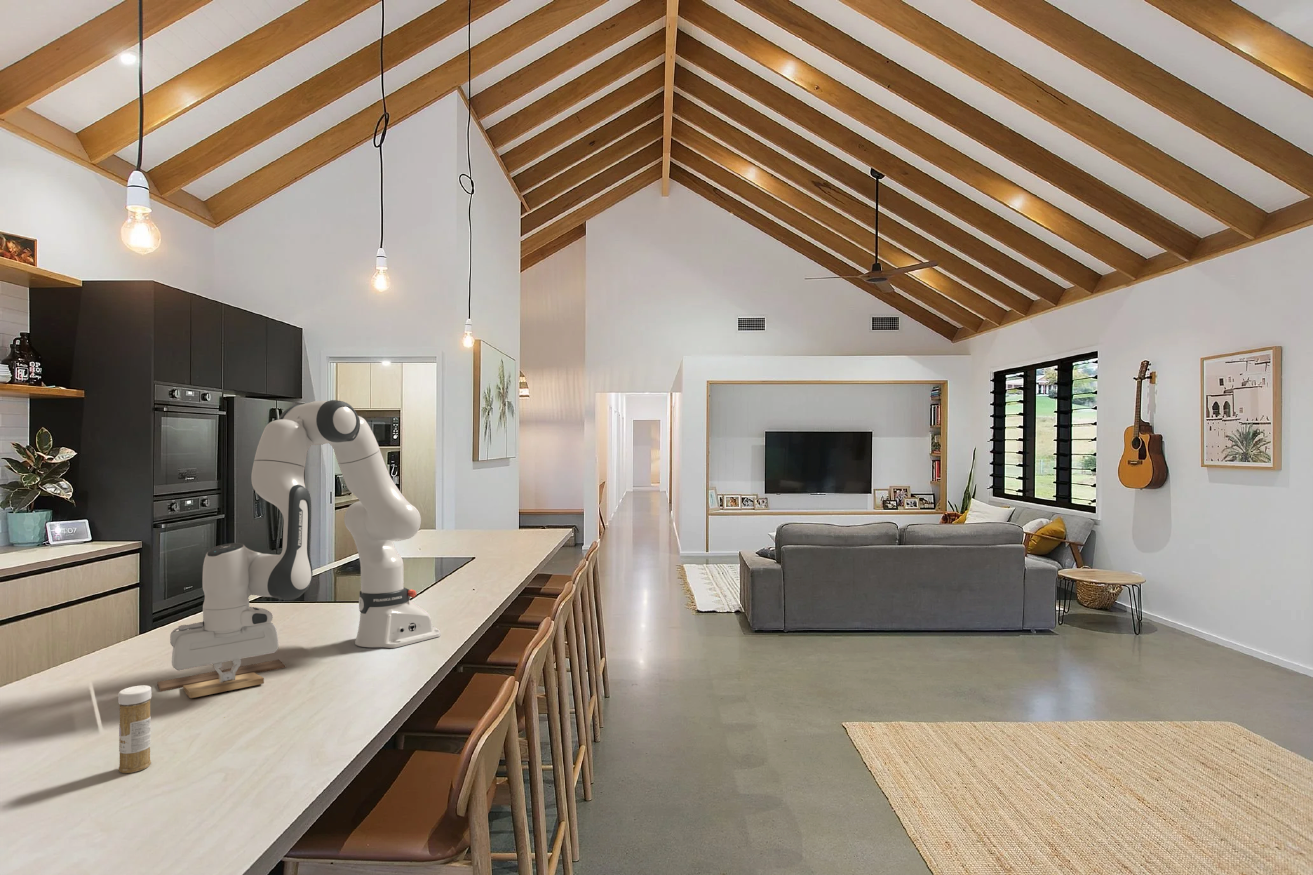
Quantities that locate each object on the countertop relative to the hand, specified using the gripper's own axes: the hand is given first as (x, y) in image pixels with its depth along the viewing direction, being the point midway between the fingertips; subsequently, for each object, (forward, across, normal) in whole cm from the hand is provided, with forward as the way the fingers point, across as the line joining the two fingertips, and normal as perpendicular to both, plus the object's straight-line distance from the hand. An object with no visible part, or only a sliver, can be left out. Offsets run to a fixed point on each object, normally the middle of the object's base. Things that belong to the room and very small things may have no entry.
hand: (227, 680), depth 159 cm
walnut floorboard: (+3, +1, +12) cm, 12 cm away
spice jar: (+3, -19, -32) cm, 37 cm away
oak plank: (+2, 0, +2) cm, 3 cm away
